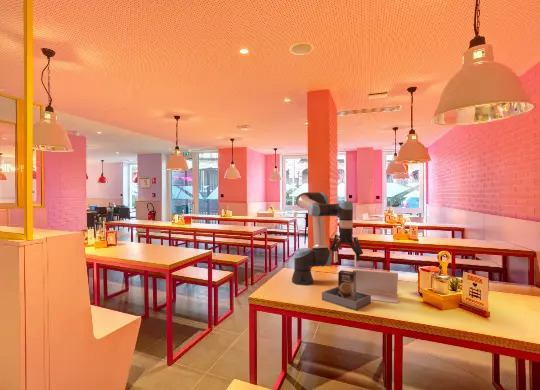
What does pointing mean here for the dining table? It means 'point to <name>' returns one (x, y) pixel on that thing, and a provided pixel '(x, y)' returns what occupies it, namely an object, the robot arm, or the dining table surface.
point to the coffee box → (347, 285)
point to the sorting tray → (333, 298)
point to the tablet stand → (377, 285)
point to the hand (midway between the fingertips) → (345, 264)
